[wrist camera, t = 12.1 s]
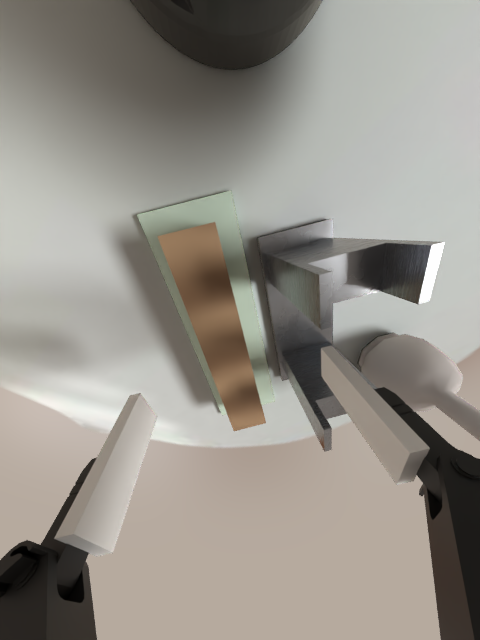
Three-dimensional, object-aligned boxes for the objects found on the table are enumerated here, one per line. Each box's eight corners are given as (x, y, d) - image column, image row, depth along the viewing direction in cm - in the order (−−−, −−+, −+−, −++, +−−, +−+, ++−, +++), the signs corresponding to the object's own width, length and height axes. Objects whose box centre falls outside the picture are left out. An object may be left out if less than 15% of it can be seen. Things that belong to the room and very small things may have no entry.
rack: (256, 237, 17) (306, 243, 8) (328, 219, 17) (465, 201, 8) (280, 376, 25) (319, 462, 16) (329, 363, 25) (396, 441, 16)
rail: (170, 235, 16) (157, 236, 12) (215, 224, 16) (215, 221, 12) (231, 403, 25) (234, 431, 22) (258, 396, 26) (265, 422, 22)
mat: (139, 215, 15) (136, 214, 15) (231, 191, 15) (231, 190, 15) (222, 412, 27) (222, 415, 26) (274, 398, 27) (275, 401, 26)
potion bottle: (366, 386, 28) (567, 591, 12) (341, 354, 25) (578, 582, 9) (420, 353, 26) (740, 541, 10) (401, 313, 23) (843, 504, 7)
